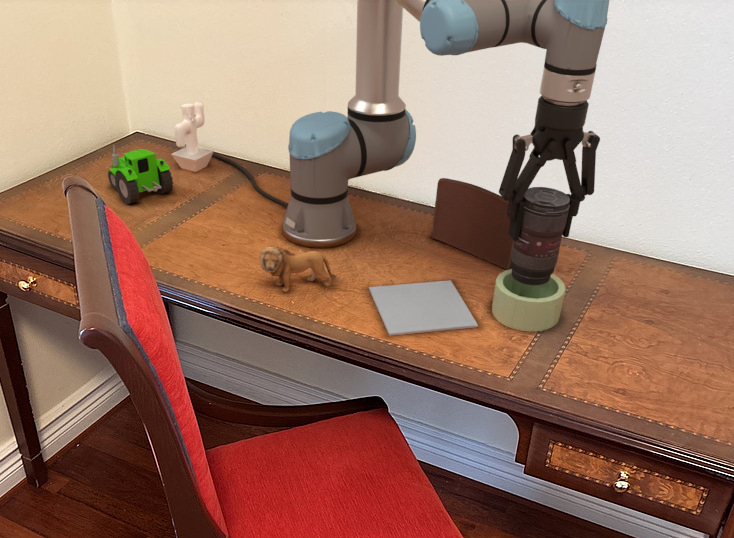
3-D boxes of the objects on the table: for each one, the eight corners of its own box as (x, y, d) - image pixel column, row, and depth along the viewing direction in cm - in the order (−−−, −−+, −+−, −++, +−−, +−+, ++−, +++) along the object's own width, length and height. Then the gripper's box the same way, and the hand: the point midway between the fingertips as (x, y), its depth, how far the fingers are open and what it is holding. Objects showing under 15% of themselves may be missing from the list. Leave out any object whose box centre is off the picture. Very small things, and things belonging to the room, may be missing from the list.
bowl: (482, 299, 147) (486, 270, 144) (543, 293, 149) (549, 265, 146) (505, 334, 138) (510, 304, 134) (570, 328, 140) (576, 298, 136)
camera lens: (554, 290, 136) (571, 208, 126) (506, 284, 137) (520, 203, 127) (554, 268, 142) (571, 188, 133) (508, 262, 143) (522, 183, 134)
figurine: (169, 170, 191) (161, 107, 182) (194, 158, 198) (188, 96, 188) (193, 176, 188) (187, 112, 179) (218, 164, 195) (212, 101, 186)
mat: (368, 289, 149) (368, 287, 149) (450, 282, 152) (451, 280, 152) (389, 336, 137) (389, 333, 136) (477, 327, 140) (478, 325, 139)
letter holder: (509, 271, 156) (520, 204, 147) (430, 238, 166) (436, 173, 157) (537, 254, 162) (549, 188, 153) (459, 223, 172) (466, 160, 163)
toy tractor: (141, 175, 188) (135, 133, 182) (179, 197, 179) (174, 153, 173) (99, 187, 182) (91, 144, 176) (135, 210, 173) (128, 166, 167)
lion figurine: (266, 300, 145) (264, 255, 140) (257, 286, 149) (254, 242, 143) (340, 285, 150) (341, 241, 144) (330, 272, 154) (330, 229, 148)
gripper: (506, 109, 116) (486, 250, 130) (639, 103, 119) (605, 241, 133) (489, 92, 121) (471, 229, 135) (616, 87, 125) (586, 221, 139)
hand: (538, 235), depth 134 cm, fingers closed on camera lens, 8 cm apart
